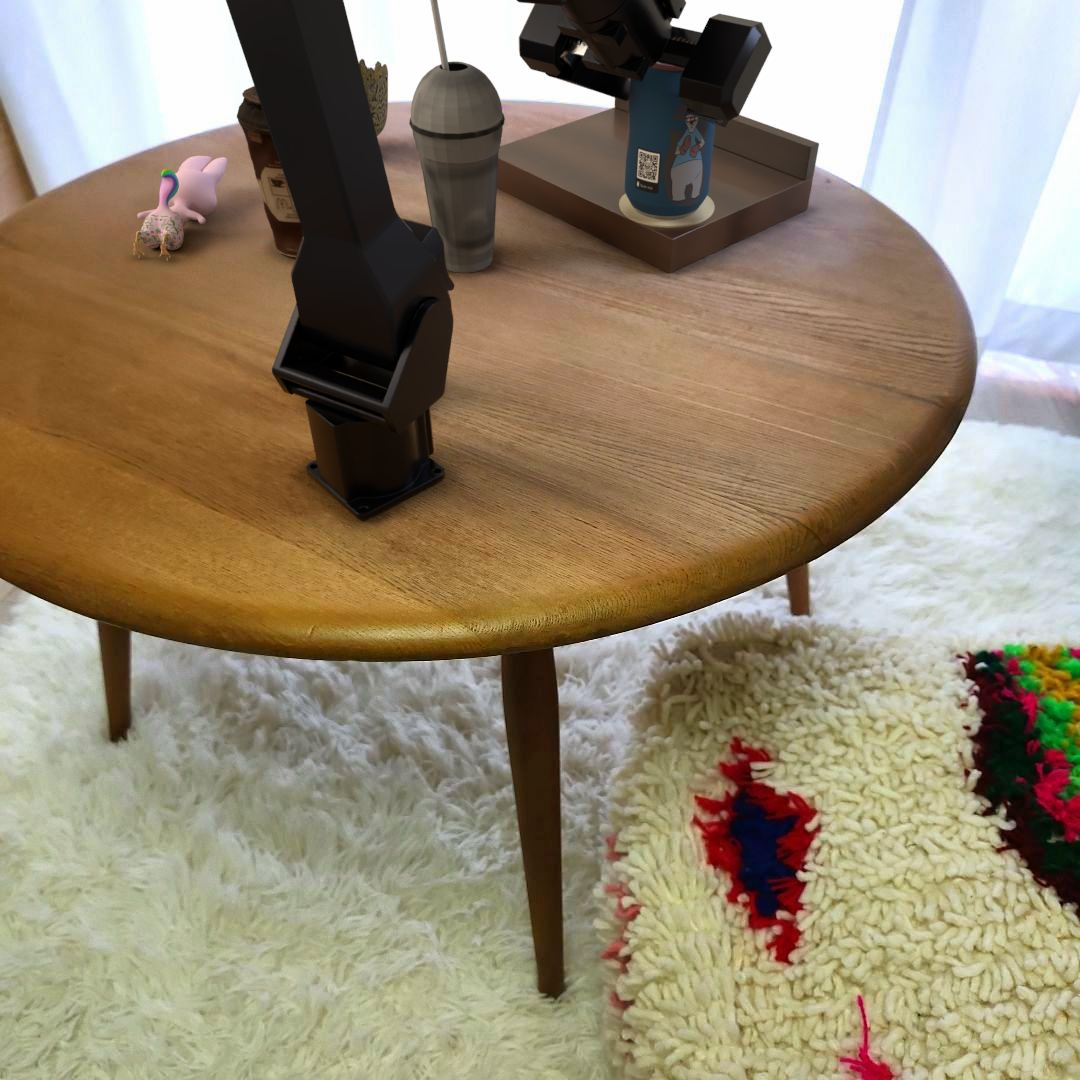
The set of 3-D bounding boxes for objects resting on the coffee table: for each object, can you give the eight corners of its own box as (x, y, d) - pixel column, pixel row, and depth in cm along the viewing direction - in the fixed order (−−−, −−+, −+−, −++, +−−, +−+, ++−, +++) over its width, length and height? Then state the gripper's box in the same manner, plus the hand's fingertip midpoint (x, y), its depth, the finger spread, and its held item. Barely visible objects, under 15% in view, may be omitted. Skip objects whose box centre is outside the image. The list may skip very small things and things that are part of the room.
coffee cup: (373, 257, 86) (353, 98, 77) (275, 275, 84) (242, 114, 75) (348, 215, 92) (327, 63, 83) (255, 231, 90) (224, 77, 81)
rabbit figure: (192, 276, 87) (254, 176, 96) (170, 215, 82) (236, 116, 91) (124, 270, 88) (191, 172, 97) (97, 209, 83) (171, 112, 92)
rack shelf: (669, 273, 84) (675, 203, 80) (485, 182, 97) (482, 118, 93) (807, 209, 93) (819, 143, 88) (621, 134, 106) (624, 73, 102)
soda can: (651, 180, 90) (661, 33, 82) (721, 200, 87) (739, 49, 78) (607, 209, 85) (613, 57, 77) (680, 230, 82) (694, 74, 74)
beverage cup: (498, 284, 83) (487, 16, 69) (411, 276, 84) (384, 10, 70) (517, 243, 88) (511, -14, 74) (435, 236, 89) (415, -18, 76)
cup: (411, 148, 103) (403, 64, 98) (364, 173, 99) (353, 88, 94) (354, 133, 106) (343, 52, 101) (306, 157, 102) (292, 73, 96)
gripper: (780, -116, 62) (830, 35, 76) (541, -148, 71) (625, -8, 85) (697, 54, 63) (762, 173, 77) (470, 1, 72) (565, 117, 86)
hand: (676, 107), depth 81 cm, fingers open, 9 cm apart
